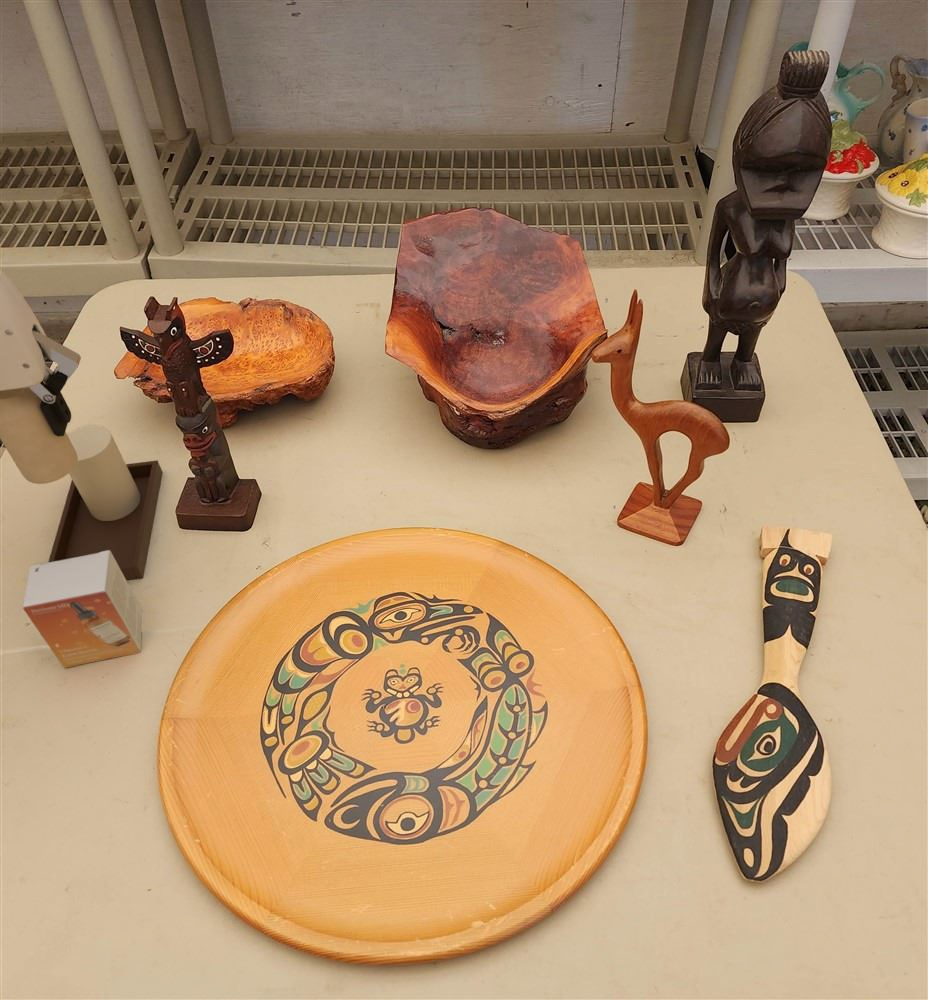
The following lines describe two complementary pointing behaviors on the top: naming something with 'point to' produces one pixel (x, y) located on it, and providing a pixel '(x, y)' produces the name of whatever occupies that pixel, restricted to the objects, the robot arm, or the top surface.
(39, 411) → the candle
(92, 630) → the small box
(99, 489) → the pillar
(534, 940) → the top surface
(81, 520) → the tray
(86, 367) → the top surface
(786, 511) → the top surface
